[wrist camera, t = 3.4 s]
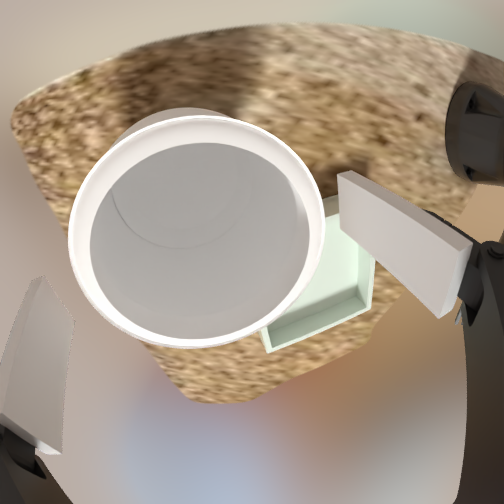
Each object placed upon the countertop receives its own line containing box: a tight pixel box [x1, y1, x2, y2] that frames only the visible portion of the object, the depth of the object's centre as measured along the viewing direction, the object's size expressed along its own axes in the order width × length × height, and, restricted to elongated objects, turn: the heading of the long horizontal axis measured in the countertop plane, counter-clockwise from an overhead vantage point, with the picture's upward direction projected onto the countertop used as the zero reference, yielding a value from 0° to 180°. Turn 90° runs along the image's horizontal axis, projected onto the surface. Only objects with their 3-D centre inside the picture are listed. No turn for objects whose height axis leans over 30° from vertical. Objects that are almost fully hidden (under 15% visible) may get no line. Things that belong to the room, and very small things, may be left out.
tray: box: [258, 194, 375, 354], centre depth 32 cm, size 14×15×4 cm
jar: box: [68, 107, 325, 349], centre depth 17 cm, size 11×10×15 cm
